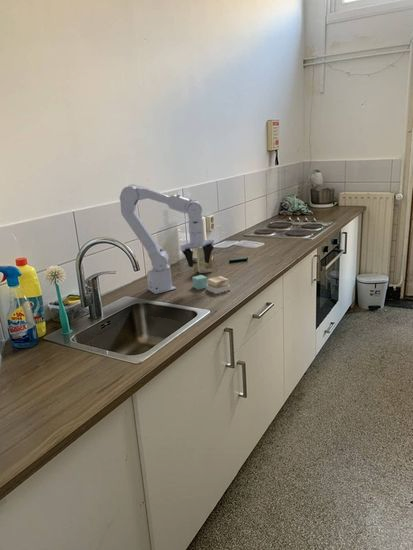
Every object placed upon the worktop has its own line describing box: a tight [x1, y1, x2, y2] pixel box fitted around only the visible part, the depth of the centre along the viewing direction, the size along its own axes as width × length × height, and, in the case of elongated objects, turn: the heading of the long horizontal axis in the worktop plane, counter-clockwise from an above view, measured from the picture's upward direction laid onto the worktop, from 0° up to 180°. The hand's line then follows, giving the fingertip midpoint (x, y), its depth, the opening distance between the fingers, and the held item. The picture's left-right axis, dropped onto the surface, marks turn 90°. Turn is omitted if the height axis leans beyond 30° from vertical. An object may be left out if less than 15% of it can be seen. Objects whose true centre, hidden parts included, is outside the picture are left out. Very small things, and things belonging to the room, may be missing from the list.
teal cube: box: [191, 274, 208, 290], centre depth 171 cm, size 4×4×4 cm
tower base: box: [205, 284, 231, 295], centre depth 167 cm, size 7×7×2 cm
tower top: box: [207, 275, 230, 288], centre depth 166 cm, size 6×6×2 cm
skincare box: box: [196, 247, 213, 274], centre depth 191 cm, size 6×4×12 cm
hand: (199, 264), depth 169 cm, fingers open, 7 cm apart
